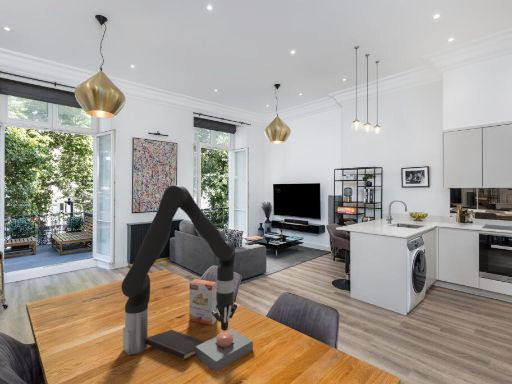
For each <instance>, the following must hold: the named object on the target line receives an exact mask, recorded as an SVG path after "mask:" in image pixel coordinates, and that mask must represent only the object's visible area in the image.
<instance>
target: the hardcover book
mask: <svg viewBox="0 0 512 384" xmlns="http://www.w3.org/2000/svg"><path fill="white" fill-rule="evenodd" d="M204 342H205V341H204V340H201V339H199V338H196V337H192V336H190V335H188V334H185V333H182V332H180V331H176V330H174V329H170V330H167V331H163V332H161V333H157V334H154V335H150V336H148V338H147V339H146V344H147V345H148V346H150V347H152V348H155V349H157V350H159V351H162V352H164V353H166V354H169V355H171V356H173V357H176V358H178V359H180V360H183V361H185V360H189V359H190V358H192V357H194V356H195V355H196V354H195V352H196V346H198V345H200V344H202V343H204Z"/></svg>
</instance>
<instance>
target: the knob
mask: <svg viewBox="0 0 512 384" xmlns="http://www.w3.org/2000/svg"><path fill="white" fill-rule="evenodd" d="M216 337H217V345H218V346H220V347H221V348H222V349H226V348H228V347H229V346H231V345H232V344H233V335H232V334H231V333H228V332H227V331H224V332H223V331H222V332H220V333H218V334H217V335H216Z"/></svg>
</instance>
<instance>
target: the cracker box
mask: <svg viewBox="0 0 512 384" xmlns="http://www.w3.org/2000/svg"><path fill="white" fill-rule="evenodd" d="M216 284H217V281H212V280H205V279H198V278H194V279H193V280H190V281H189V292H188V293H189V302H188V303H189V304H188V305H189V307H188V308H189V310H188V312H189V315H188V317H189V318H188V319H189V321H191V322H197V323H200V324H204V325H208V326H213V325H214V324H215V323H216V322H218V321H217V320H216V318H215V317H214V316H213V315H212V311H215V309H216V305H217V301H216Z"/></svg>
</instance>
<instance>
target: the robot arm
mask: <svg viewBox="0 0 512 384" xmlns="http://www.w3.org/2000/svg"><path fill="white" fill-rule="evenodd" d="M179 209H180V210H181V211H183V213H185V214H186V215H187V217H188V218H189V220H190V221H191V223H192V225H193V226H194V228H195V230H196V232H197V233H198V234H199V235H200V237H201V238H202V239H203V240H204V241H205V242H206V243H207V244H208V246H209V248H210V249H211V251H212V253H213V255H215V257H216V258H217V259H219V261H218V266H217V270H216V282H217V284H216V301H217V305H216V309H215V311H212V315H213V316H214V317H215V318H216V320H217V321H216V322H219V323H220V329H221V330H222V332H223V331H224V332H227V331H228V328H229V321H230V319H233V316H234V315H235V313H236V311H237V309H238V304H236V303H234V301H235V282H234V279H235V278H234V277H235V275H234V274H235V271H234V264H235V258H236V257H235V256H236V248H235V245H234V243H232V242H231V241H228V240H226V241H225V240H224V238H223V237H222V233H221V232H220V230H219V229H218V228H217V227H216V226H215V224H214V223H213V222H212V221H211V220H210V219H209V218H208V217H207V215H206V214H205V213H204V212H203V211H202V209H201V208H200V207H199V206H198V204H197V203H196V201H195V200H194V198H193V197H192V195H191V193H190V192H189V190H188V189H187V187H185V186H183V185H179V184H177V185H176V184H175V185H170V186H168V187H166V189H165V190H164V192H163V194H162V196H161V200H160V203H159V205H158V208H157V212H156V213H155V216H154V217H153V220H152V221H151V224H150V225H149V228H148V230H147V231H146V234H145V236H144V238H143V240H142V243H141V245H140V247H139V249H138V252H137V254H136V257H135V259H134V260H133V263H132V265H131V266H130V268H129V270H128V272H127V273H126V275H125V276H124V279H122V283H121V293H122V294H123V295H124V296H125V297H126V298H127V300H126V302H125V304H124V327H123V328H122V350H123V352H125V353H126V355H127V356H130V355H136V354H140V353H143V352H144V351H146V350H147V349H148V346H149V345H147V344H146V339H147V338H148V337H149V323H148V322H149V302H150V297H151V295H150V294H151V278H150V275H149V272H150V270H151V268H152V266H153V265H154V264H155V262H157V260H158V259H159V258H160V256H161V254H162V253H163V251H164V249H165V247H166V246H167V243H168V241H169V238H170V234H171V229H172V222H173V219H174V218H175V216H176V213H177V212H178V211H179Z"/></svg>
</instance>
